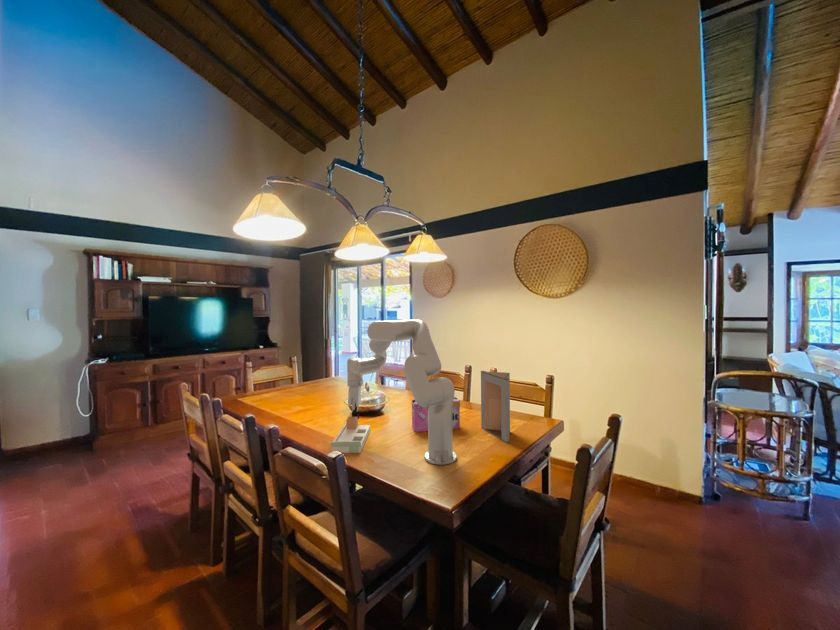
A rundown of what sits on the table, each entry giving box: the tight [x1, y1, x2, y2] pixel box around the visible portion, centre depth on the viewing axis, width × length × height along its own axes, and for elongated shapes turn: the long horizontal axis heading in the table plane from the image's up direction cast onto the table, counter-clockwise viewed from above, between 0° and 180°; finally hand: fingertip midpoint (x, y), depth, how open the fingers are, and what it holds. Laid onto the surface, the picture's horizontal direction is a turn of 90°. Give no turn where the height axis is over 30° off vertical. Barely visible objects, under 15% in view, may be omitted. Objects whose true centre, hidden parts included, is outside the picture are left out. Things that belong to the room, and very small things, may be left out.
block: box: [345, 416, 359, 429], centre depth 166 cm, size 4×4×4 cm
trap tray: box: [330, 422, 371, 454], centre depth 156 cm, size 26×12×4 cm, turn 0°
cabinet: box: [480, 370, 511, 444], centre depth 162 cm, size 21×10×28 cm, turn 21°
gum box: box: [411, 396, 461, 433], centre depth 171 cm, size 24×8×14 cm, turn 101°
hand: (355, 418), depth 174 cm, fingers closed
